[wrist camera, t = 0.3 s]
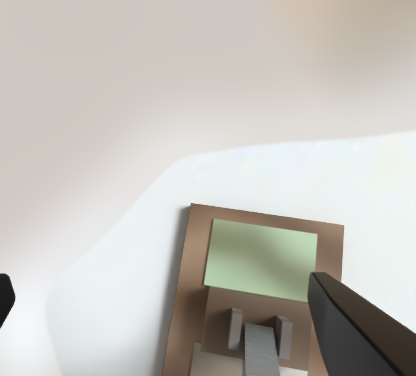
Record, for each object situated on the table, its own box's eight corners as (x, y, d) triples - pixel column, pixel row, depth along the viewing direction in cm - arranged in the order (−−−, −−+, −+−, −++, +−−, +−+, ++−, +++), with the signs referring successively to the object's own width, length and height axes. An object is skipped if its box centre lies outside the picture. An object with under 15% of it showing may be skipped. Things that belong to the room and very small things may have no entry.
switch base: (326, 458, 20) (358, 521, 15) (155, 422, 21) (135, 471, 16) (339, 226, 24) (368, 218, 19) (192, 205, 25) (184, 192, 20)
